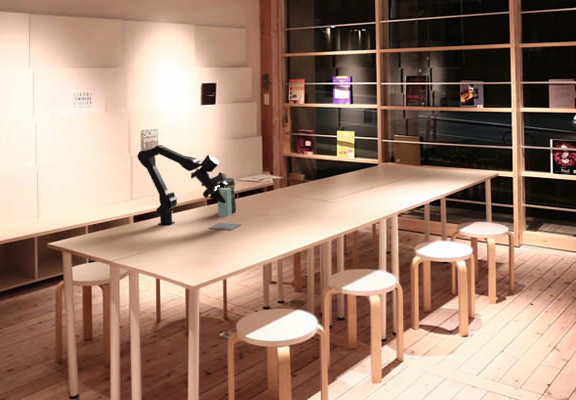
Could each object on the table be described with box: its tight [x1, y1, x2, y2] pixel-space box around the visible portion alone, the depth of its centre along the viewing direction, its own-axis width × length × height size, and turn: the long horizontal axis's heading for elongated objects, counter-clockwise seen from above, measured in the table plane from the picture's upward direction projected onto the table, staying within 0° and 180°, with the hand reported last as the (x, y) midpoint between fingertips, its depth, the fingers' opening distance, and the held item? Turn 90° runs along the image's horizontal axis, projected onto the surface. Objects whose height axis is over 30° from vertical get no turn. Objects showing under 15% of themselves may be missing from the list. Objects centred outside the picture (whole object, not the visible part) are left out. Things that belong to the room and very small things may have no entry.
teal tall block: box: [217, 188, 233, 217], centre depth 342 cm, size 5×5×13 cm
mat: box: [208, 222, 242, 231], centre depth 343 cm, size 12×12×1 cm
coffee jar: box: [220, 177, 237, 214], centre depth 377 cm, size 10×8×19 cm
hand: (227, 201), depth 341 cm, fingers closed on teal tall block, 5 cm apart
